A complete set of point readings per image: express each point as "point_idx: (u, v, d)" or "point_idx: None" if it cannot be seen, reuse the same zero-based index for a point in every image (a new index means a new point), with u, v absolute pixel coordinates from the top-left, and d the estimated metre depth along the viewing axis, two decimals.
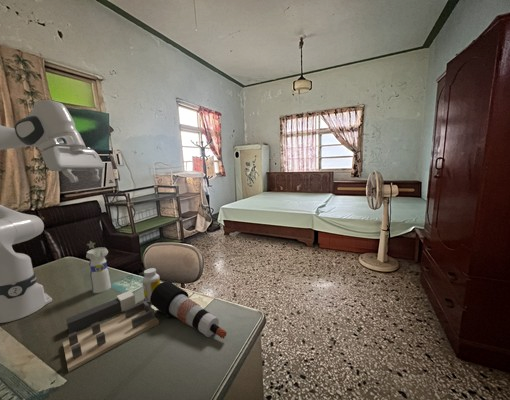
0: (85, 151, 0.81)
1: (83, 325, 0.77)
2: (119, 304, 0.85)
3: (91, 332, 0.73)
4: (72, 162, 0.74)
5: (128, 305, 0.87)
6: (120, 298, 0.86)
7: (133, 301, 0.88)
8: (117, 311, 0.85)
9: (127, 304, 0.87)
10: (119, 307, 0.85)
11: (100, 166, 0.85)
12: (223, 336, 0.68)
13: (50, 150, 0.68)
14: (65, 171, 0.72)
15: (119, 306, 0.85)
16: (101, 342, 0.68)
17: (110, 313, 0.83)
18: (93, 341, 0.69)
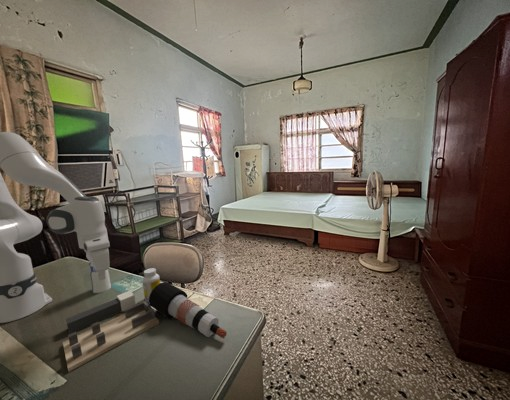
0: None
1: (83, 325, 0.77)
2: (119, 304, 0.85)
3: (91, 332, 0.73)
4: None
5: (128, 305, 0.87)
6: (120, 298, 0.86)
7: (133, 301, 0.88)
8: (117, 311, 0.85)
9: (127, 304, 0.87)
10: (119, 307, 0.85)
11: None
12: (223, 336, 0.68)
13: (105, 253, 0.74)
14: None
15: (119, 306, 0.85)
16: (101, 342, 0.68)
17: (109, 313, 0.83)
18: (93, 341, 0.69)
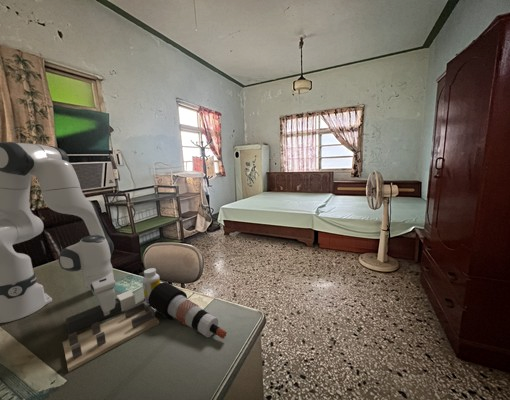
0: None
1: (83, 325, 0.77)
2: (119, 304, 0.85)
3: (91, 332, 0.73)
4: None
5: (128, 305, 0.87)
6: (120, 298, 0.86)
7: (133, 301, 0.88)
8: (117, 311, 0.85)
9: (127, 304, 0.87)
10: (119, 307, 0.85)
11: None
12: (223, 336, 0.68)
13: (111, 293, 0.76)
14: None
15: (119, 306, 0.85)
16: (101, 342, 0.68)
17: None
18: (93, 341, 0.69)
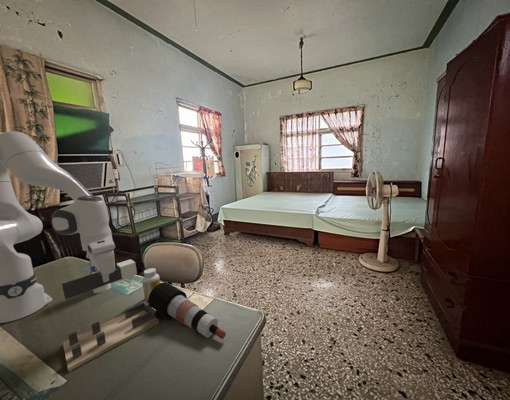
0: None
1: (80, 291, 0.71)
2: (119, 271, 0.79)
3: (91, 332, 0.73)
4: None
5: (129, 273, 0.81)
6: (120, 265, 0.81)
7: (134, 269, 0.83)
8: (117, 278, 0.79)
9: (128, 271, 0.81)
10: (119, 274, 0.79)
11: None
12: (222, 337, 0.67)
13: (110, 255, 0.71)
14: None
15: (119, 273, 0.79)
16: (101, 342, 0.68)
17: (109, 280, 0.77)
18: (93, 341, 0.69)
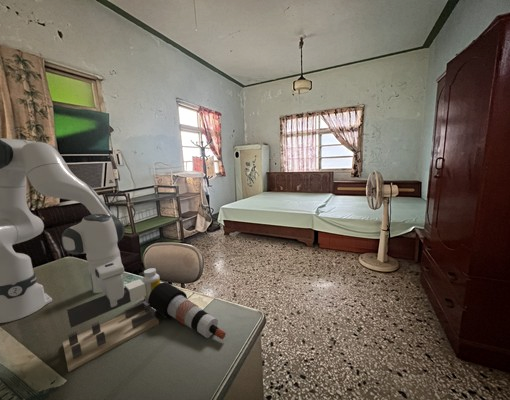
0: None
1: (87, 317, 0.66)
2: (128, 294, 0.74)
3: (91, 332, 0.73)
4: None
5: (138, 295, 0.76)
6: (129, 287, 0.75)
7: (143, 290, 0.77)
8: (125, 302, 0.74)
9: (137, 293, 0.76)
10: (128, 297, 0.74)
11: None
12: (222, 337, 0.67)
13: (119, 280, 0.65)
14: None
15: (128, 296, 0.74)
16: (101, 342, 0.68)
17: (117, 303, 0.72)
18: (93, 341, 0.69)
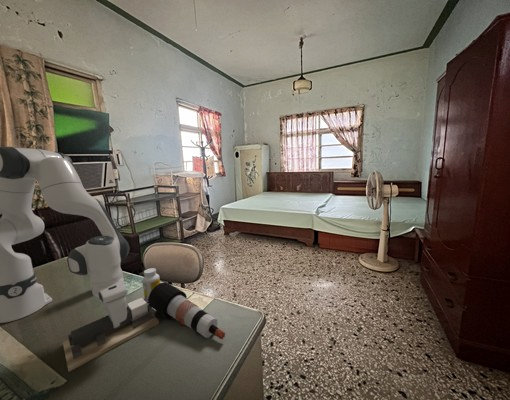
0: None
1: (90, 339, 0.67)
2: (130, 313, 0.75)
3: None
4: None
5: None
6: (131, 307, 0.76)
7: (145, 310, 0.78)
8: (128, 321, 0.75)
9: (139, 313, 0.77)
10: (130, 317, 0.75)
11: None
12: (222, 337, 0.67)
13: (122, 303, 0.66)
14: None
15: (130, 316, 0.75)
16: (101, 342, 0.68)
17: (120, 324, 0.73)
18: (93, 341, 0.69)
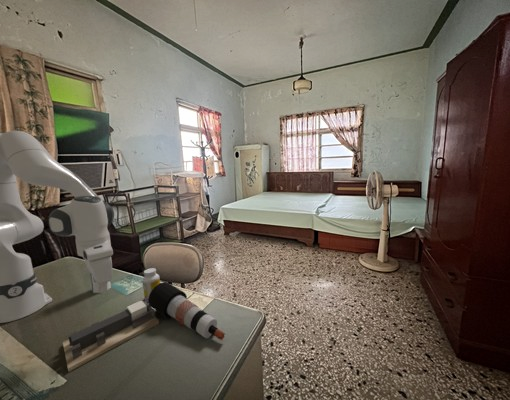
0: None
1: (90, 342, 0.67)
2: (130, 317, 0.75)
3: None
4: None
5: None
6: (131, 310, 0.77)
7: None
8: (128, 325, 0.75)
9: None
10: (130, 320, 0.75)
11: None
12: (221, 338, 0.67)
13: (107, 263, 0.64)
14: None
15: (130, 319, 0.75)
16: (101, 342, 0.68)
17: (119, 327, 0.73)
18: None
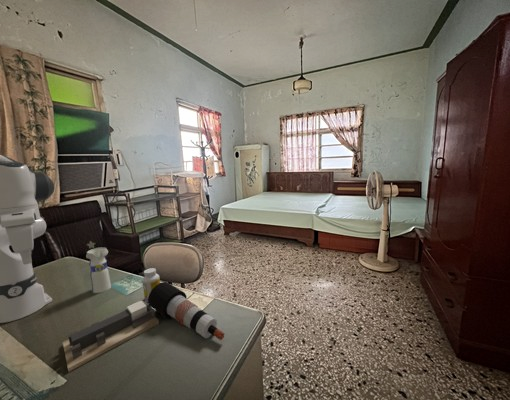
0: None
1: (90, 342, 0.67)
2: (130, 317, 0.75)
3: None
4: None
5: None
6: (131, 310, 0.77)
7: None
8: (128, 325, 0.75)
9: None
10: (130, 320, 0.75)
11: None
12: (221, 337, 0.67)
13: (26, 230, 0.60)
14: (26, 251, 0.62)
15: (130, 319, 0.75)
16: (101, 342, 0.68)
17: (119, 327, 0.73)
18: None
